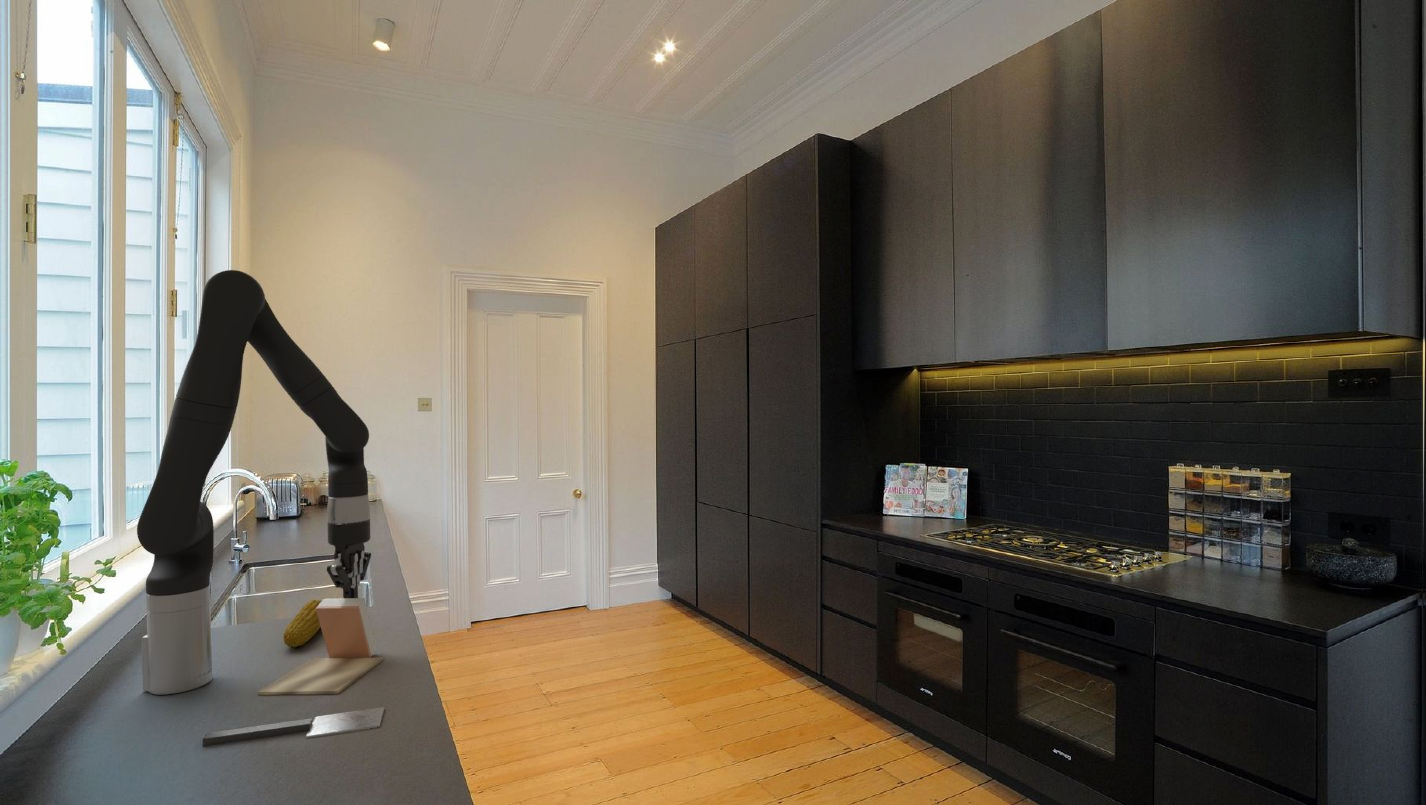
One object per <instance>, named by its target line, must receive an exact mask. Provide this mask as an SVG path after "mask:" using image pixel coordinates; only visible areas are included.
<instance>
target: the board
mask: <svg viewBox="0 0 1426 805" xmlns="http://www.w3.org/2000/svg"><path fill="white" fill-rule="evenodd" d="M383 658H384V657H371V658H329V657H323V658H322V657H315V658H314V657H313V658H312V657H311V658H310V659H308V660H306V661H305V662H304V663H301V664H300V665H299V666H297V667H296V668H293V669H292V670H290V671H289V672H287V673H285V675H282V676H281V677H279V678H278V679H276V680H275V681H273V682H271V683H270V684H268V685H267V686H265V687H263V688H262V689H260V690H259V691H257V695H259V696H262V695H263V696H265V695H266V696H267V695H270V696H271V695H339V694H340V693H342V692H343V691H344V690H346V689H347V688H348V687H349V686H351V685H352V684H353V683H355V682H356V681H357V680H359V679H360V678H361V677H362V676H364V675H366V674H367V673H368V672H369V671H370V670H372V669H373V668H374V667H376V666H377V665H378V664H380V663H381V662H382V661H383V660H384V659H383Z"/></svg>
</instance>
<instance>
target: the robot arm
mask: <svg viewBox="0 0 1426 805" xmlns="http://www.w3.org/2000/svg"><path fill="white" fill-rule="evenodd" d="M200 308H201V309H200V317H199V321H198V322H199V323H198V330H197V334H196V339H195V342H194V346H193V348H192V352H191V354H190V356H189V357H188V358H189V359H188V361H187V364H186V365H185V368H184V371H183V374H182V377H181V379H180V382H179V386H178V389H177V392H176V395H175V399H174V400H173V401H174V402H173V406H172V410H171V412H170V413H171V414H170V418H169V422H168V427H167V431H166V434H165V439H164V443H163V447H162V449H161V450H162V452H161V455H160V458H159V459H160V461H159V465H158V469H157V472H156V475H155V477H154V480H153V484H152V487H151V489H150V492H149V493H148V496H147V499H146V501H145V504H144V506H143V508H142V511H141V514H140V516H139V518H138V522H137V527H136V535H137V540H138V542H139V543H140V545H141V547H143V549H144V550H145V551H146V552H148V553H150V554H152V555H154V556H153V557H154V558H153V559H154V560H153V564H152V567H151V570H150V572H149V573H148V575H147V577H146V579H145V580H146V581H145V599H146V600H145V602H146V606H145V607H146V633H147V634H145V635H143V636H142V637H141V664H142V665H141V666H142V669H141V670H142V692H148V693H150V694H153V695H158V696H159V695H172V694H178V693H184V692H187V691H191V690H195V689H198V688H201V687H203V686H205V685H206V684H208V683H210V682H211V681H212V679H213V655H212V654H213V653H212V652H213V649H212V648H213V647H212V619H211V618H212V617H211V616H212V615H211V582H210V580H211V579H210V578H211V573H212V570H213V566H214V552H215V551H214V543H215V542H214V540H215V539H214V538H215V536H214V535H215V534H214V533H215V531H214V530H215V529H214V528H215V527H214V518H213V515H212V513H211V510H210V509H209V507H208V505H206V504H205V503H204V502H202V501H201V500H202V496H203V490H204V486H205V484H206V480H207V477H208V476H209V472H210V471H211V469H212V468H213V466H214V464H215V462H216V460H217V459H218V457H219V455H220V453H221V452H222V450H223V448H224V446H225V445H226V442H227V440H228V438H229V435H230V433H231V430H232V427H233V424H234V420H235V417H236V413H237V407H238V405H239V399H240V394H241V386H242V378H243V363H244V354H245V350H246V346H247V343H249V345H250V346H251V347H252V348H253V349H254V350H255V351H256V353H257V354H258V355H259V357H260V358H261V359H262V361H263V362H264V363H265V365H266V366H267V367H268V369H269V370H270V372H271V373H272V374H273V376H274V377H275V379H276V380H277V382H278V383H279V384H280V386H281V387H282V389H283V390H284V391H285V392H286V394H287V395H288V396H289V397H290V398H291V400H293V402H294V403H295V405H297V407H298V408H299V409H300V411H302V412H303V413H304V414H305V416H307V417H308V418H310V419H311V420H312V421H313V422H314V423H315V425H316V426H317V427H318V429H319V431H321V432H322V434H323V436H325V438H324V439H325V452H326V460H327V465H328V477H327V479H328V480H327V483H328V484H327V485H328V493H327V494H328V497H327V498H328V499H327V509H326V510H327V511H326V512H327V513H326V515H327V516H326V517H327V518H326V520H327V521H326V522H327V543H328V544H329V545H330V546H333V547H334V553H333V559H334V561H333V563H332V565H327V566H326V572H327V574H328V575H329V578H330V580H332V581H331V582H332V583H333V584H334V586H335V588H337V589H342V597H343V598H359V586H360V585H361V581H364V580H365V578H366V574H367V570H368V568H369V565H370V561H371V558H372V553H371V552H367V551H366V550H365V548H366V547H365V543H368V542H369V541H370V540H371V505H370V500H369V499H370V498H369V475H368V471H367V468H366V466H365V449H364V448H365V447H366V446H367V445H368V443H369V439H370V432H369V428H368V427H367V425H366V424H365V422H364V420H362V418H361V417H360V416H359V415H358V414H357V412H355V411H354V410H353V408H352V407H351V406H350V405H348V403H347V402H345V400H344V399H343V398H342V397H341V396H340V395H339V392H337V390H336V388H335V387H334V386H333V385H332V384H331V382H330V381H329V379H327V377H326V376H325V375H324V373H323V372H322V371H321V370H320V368H319V367H318V366H317V365H316V364H315V363H314V361H313V360H311V358H310V357H309V356H308V355H307V354H306V353H305V352H304V351H303V350H302V348H301V347H300V346H298V344H297V343H296V342H295V341H294V340H293V339H292V337H291V336H290V335H289V334H288V333H287V331H286V330H285V329H284V327H283V326H282V324H281V323H280V321H279V320H278V318H277V317H276V315H275V313H274V311H273V310H272V308H271V306H270V304H269V303H268V301H267V298H266V295H265V292H264V289H263V287H262V286H261V284H260V283H259V282H258V280H257V279H256V278H254V277H253V276H252V275H250V274H248V273H246V272H244V271H241V270H236V269H227V270H222V271H220V272H218V273H215V274H214V275H212V276H211V277H210V278H209V279H207V281H206V283H205V285H204V286H203V290H202V298H201V307H200Z"/></svg>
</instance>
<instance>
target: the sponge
mask: <svg viewBox="0 0 1426 805" xmlns="http://www.w3.org/2000/svg"><path fill="white" fill-rule="evenodd" d="M368 610H369V609H368V606H367V603H366V598H362V597H360V598H359V597H358V598H342V597H341V598H335V597H334V598H323V599H322V601H321V603H320V604H319V605H318V606H317V607H316V612H317V615H318V619H319V622H320V626H321V627H320V629H321V632H322V636H323V640H324V644H325V647H326V650H327V654H328V658H373V657H372V656H373V655H374V653H375V652H376V650H377V649H378V646H377V643H376V639H375V635H374V630H373V627H372V622H371V619H370V614H369V611H368Z"/></svg>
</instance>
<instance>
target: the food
mask: <svg viewBox="0 0 1426 805" xmlns="http://www.w3.org/2000/svg"><path fill="white" fill-rule="evenodd" d="M322 600H323V599H322ZM322 600H320V599H311V601H309V602H307V603H306V604H305V605H304V606H302V608H301V609H300V611H299V612H298V613H297V614H296V615H295V616H294V618H293V619H292V621H291V622H290V623H289V624H288V625H287V627H286V629H285V630H284V632H283V643H284V645H286V646H288V648H298V647H301V646H303V645H305V644H306V642H308V641H310V639H311V638H313V636H316V633H317V632H318V631H320V629H321V626H320V622H319V619H318V615H317V612H316V607H317V606H318V605H319V604H320V603H321V601H322Z"/></svg>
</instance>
